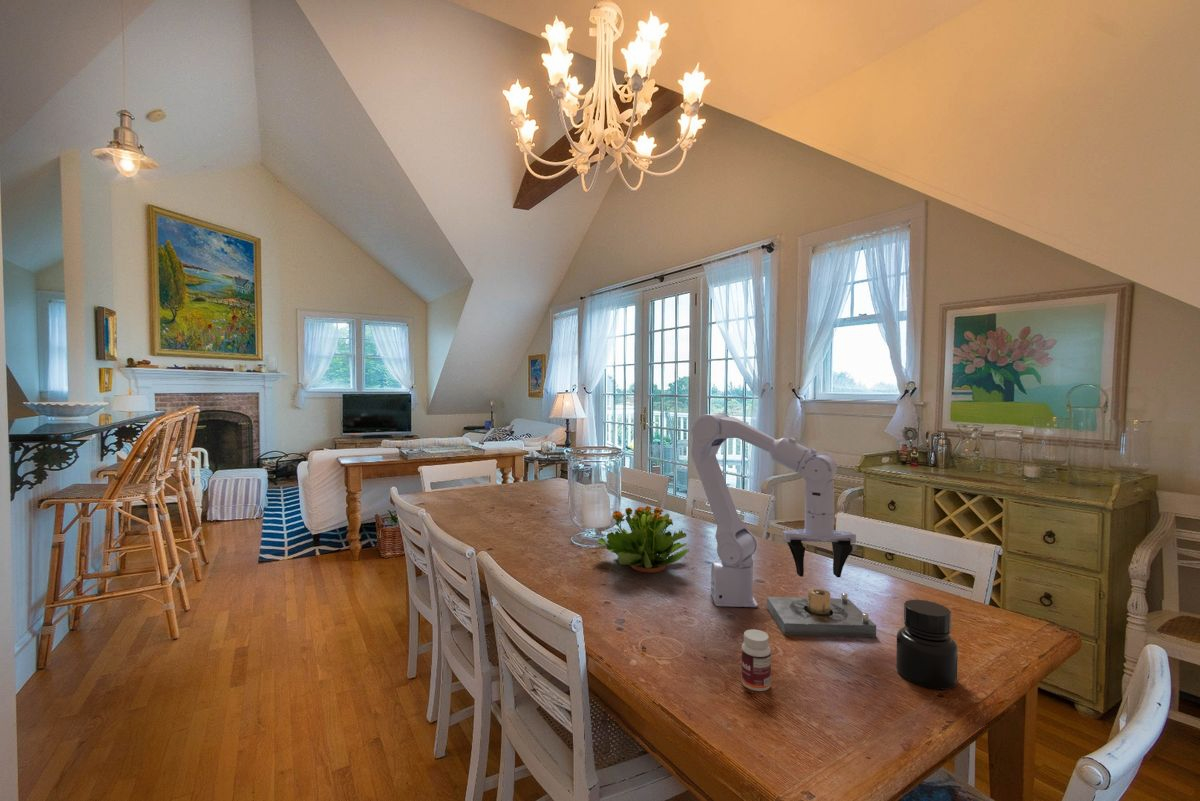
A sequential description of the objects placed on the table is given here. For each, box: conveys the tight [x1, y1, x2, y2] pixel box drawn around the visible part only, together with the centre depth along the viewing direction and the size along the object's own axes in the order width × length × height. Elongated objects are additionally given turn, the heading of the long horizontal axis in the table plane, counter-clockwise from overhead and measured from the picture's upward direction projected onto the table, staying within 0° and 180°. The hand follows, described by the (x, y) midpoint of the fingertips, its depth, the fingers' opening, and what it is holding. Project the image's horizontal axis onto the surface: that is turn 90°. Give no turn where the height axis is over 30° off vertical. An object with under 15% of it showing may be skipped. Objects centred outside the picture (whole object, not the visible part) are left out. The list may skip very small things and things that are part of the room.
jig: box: [766, 592, 877, 639], centre depth 109 cm, size 18×13×4 cm
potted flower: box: [597, 505, 690, 574], centre depth 142 cm, size 25×24×18 cm
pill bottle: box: [740, 628, 772, 692], centre depth 86 cm, size 5×5×8 cm
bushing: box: [807, 587, 831, 617], centre depth 109 cm, size 4×4×7 cm
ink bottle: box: [895, 599, 959, 690], centre depth 88 cm, size 10×9×12 cm
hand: (818, 575), depth 109 cm, fingers open, 7 cm apart
